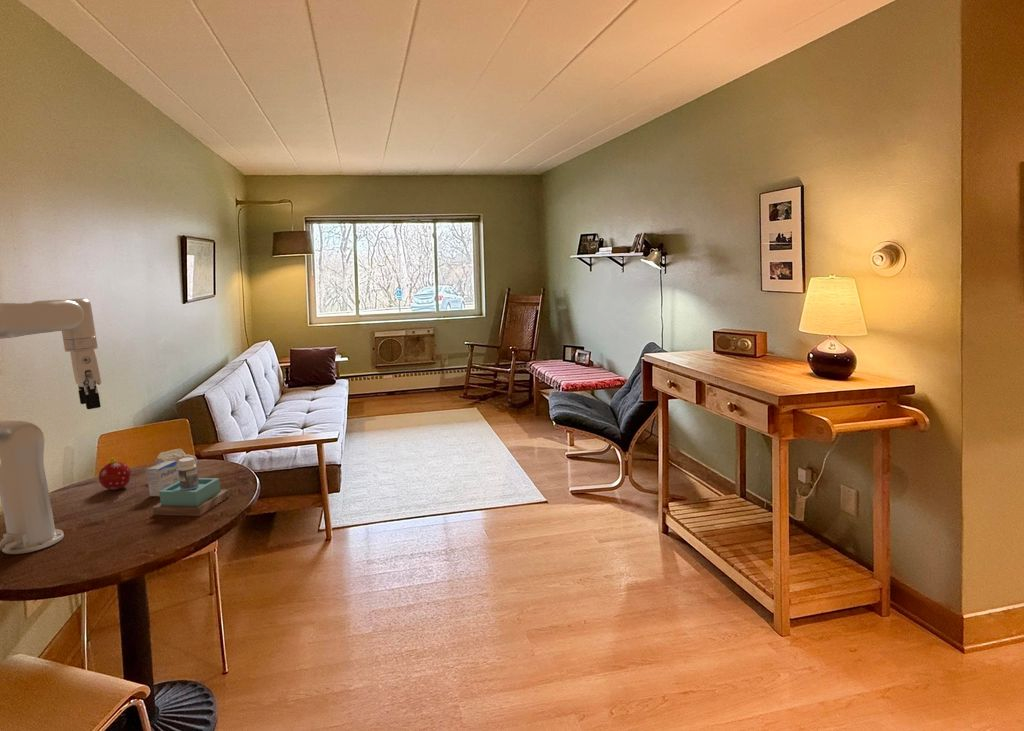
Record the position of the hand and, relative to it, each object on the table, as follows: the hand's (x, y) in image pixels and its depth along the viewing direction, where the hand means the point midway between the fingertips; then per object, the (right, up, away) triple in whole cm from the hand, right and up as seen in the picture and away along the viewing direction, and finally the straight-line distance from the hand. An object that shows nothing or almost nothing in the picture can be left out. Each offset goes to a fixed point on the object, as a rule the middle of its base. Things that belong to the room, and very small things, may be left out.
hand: (90, 405), depth 178 cm
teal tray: (+26, -27, +5) cm, 37 cm away
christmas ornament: (-6, -28, +22) cm, 36 cm away
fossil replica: (+7, -25, +34) cm, 43 cm away
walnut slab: (+26, -30, +5) cm, 39 cm away
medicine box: (+11, -28, +18) cm, 35 cm away
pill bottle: (+25, -24, +5) cm, 35 cm away
